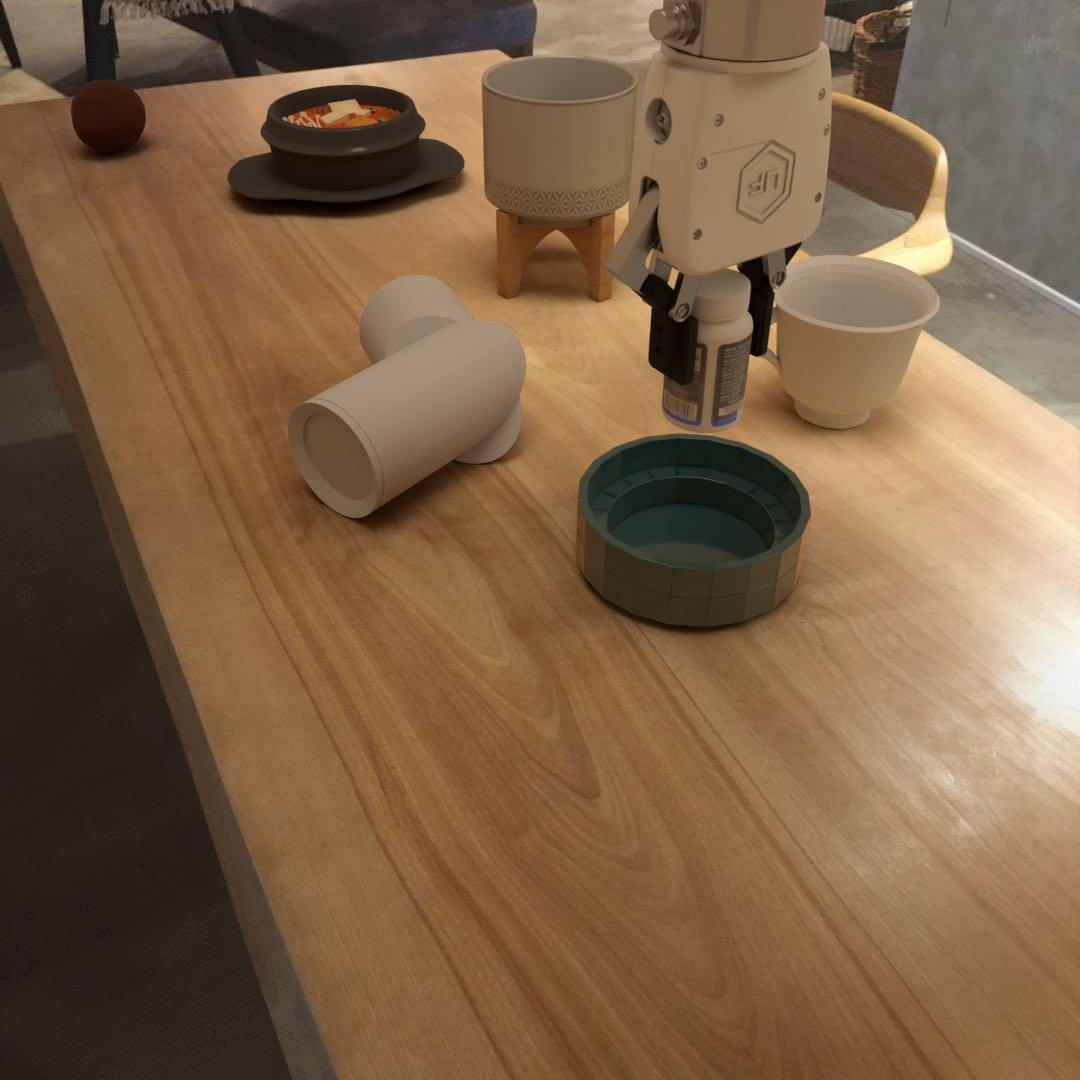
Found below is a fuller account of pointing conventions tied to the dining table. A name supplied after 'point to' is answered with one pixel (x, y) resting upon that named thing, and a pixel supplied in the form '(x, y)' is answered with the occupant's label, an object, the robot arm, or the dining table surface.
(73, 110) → the dark brown ball
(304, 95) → the casserole
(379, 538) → the dining table surface
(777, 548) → the bowl
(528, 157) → the planter
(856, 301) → the teacup
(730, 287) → the pill bottle
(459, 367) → the beige tubular fitting
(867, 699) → the dining table surface
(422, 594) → the dining table surface
